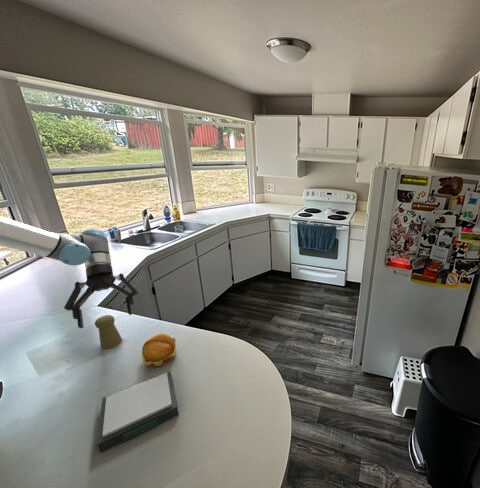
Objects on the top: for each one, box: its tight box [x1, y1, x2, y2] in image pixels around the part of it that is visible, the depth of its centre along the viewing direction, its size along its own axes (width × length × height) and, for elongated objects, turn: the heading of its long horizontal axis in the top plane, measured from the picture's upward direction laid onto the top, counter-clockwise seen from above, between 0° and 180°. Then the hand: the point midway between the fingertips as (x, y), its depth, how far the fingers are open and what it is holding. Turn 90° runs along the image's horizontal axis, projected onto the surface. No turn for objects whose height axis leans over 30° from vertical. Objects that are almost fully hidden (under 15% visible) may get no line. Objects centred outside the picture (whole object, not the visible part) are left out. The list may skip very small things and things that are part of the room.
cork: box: [94, 314, 123, 350], centre depth 89 cm, size 6×6×11 cm
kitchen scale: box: [96, 371, 180, 453], centre depth 67 cm, size 16×14×4 cm
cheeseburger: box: [141, 333, 178, 368], centre depth 83 cm, size 10×11×10 cm
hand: (106, 320), depth 89 cm, fingers open, 13 cm apart
